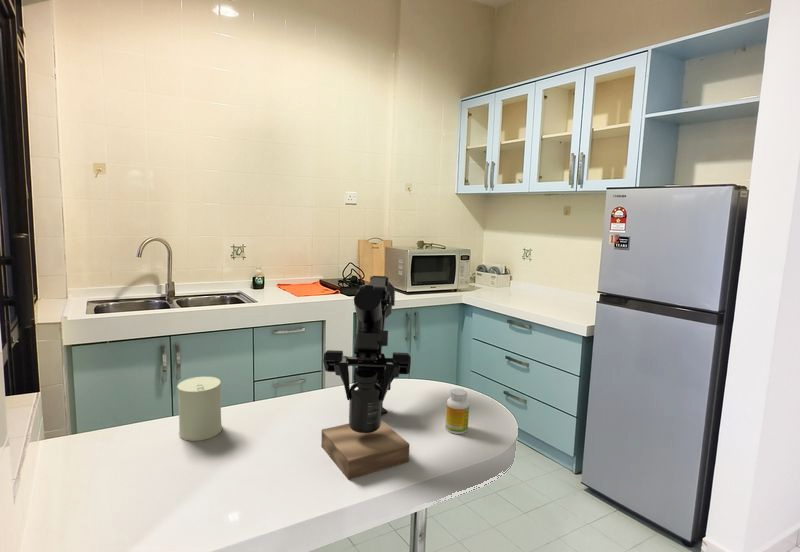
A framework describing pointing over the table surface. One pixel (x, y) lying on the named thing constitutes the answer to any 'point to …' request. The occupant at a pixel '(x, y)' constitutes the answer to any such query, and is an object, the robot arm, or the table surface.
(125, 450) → the table surface
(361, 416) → the supplement bottle
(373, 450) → the block
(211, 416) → the can
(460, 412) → the supplement bottle
